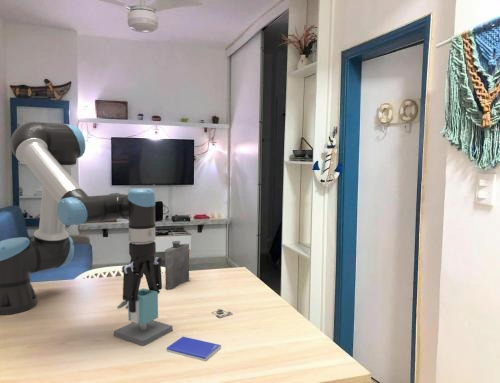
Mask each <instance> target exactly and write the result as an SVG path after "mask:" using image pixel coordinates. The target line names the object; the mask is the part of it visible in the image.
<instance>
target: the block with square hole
mask: <svg viewBox="0 0 500 383" xmlns="http://www.w3.org/2000/svg"><path fill="white" fill-rule="evenodd" d="M158 295H159V294H158V292H157V291H152V290H149V288H139V291H138V296H137V300H138V301H139V324H142V325H144V324H146V323H148V322H150V321H152V320H154V321H155V320H156V319H159V299H158V298H159V296H158ZM132 297H133V296H132ZM127 309H128V311H127V312H128V318H127V319H128V321H130V322H131V312H130V311H129V301H128V307H127Z"/></svg>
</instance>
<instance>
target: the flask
mask: <svg viewBox="0 0 500 383" xmlns="http://www.w3.org/2000/svg"><path fill="white" fill-rule="evenodd" d="M171 243H172V246H171V247H168V248H166V249H165V252H164V254H165V256H164V257H165V258H164V260H165V262H164V264H165V266H164V267H165V271H164V273H165V274H164V275H165V279H164V280H165V290H169V291H170V290H171V291H172V289H175V288H176V287H179V286H180V285H182V284H185V283H187V282H190V243H181V241H180V240H174V241H172V242H171Z"/></svg>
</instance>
